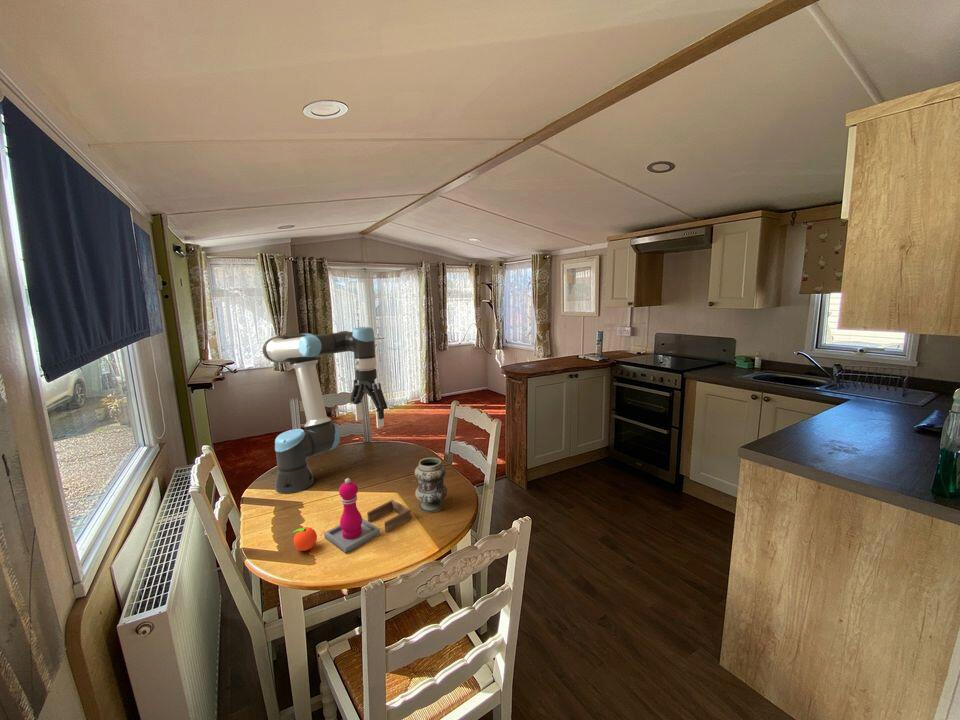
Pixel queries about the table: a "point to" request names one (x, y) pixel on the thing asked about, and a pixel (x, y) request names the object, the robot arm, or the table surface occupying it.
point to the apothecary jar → (430, 485)
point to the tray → (349, 544)
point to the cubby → (387, 507)
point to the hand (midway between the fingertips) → (369, 423)
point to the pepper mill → (350, 511)
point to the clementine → (305, 538)
